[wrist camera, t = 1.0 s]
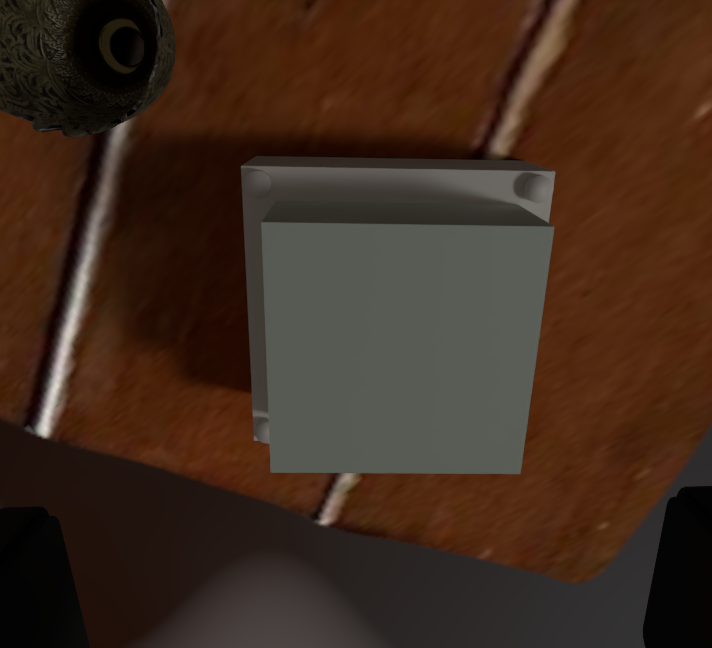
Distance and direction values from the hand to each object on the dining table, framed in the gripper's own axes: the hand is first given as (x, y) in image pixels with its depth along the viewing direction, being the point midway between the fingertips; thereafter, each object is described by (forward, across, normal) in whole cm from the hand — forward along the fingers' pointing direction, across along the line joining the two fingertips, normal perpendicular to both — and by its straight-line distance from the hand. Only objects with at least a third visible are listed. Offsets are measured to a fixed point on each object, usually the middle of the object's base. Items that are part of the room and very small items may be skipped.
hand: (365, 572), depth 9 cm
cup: (+25, +11, -10) cm, 29 cm away
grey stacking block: (+25, -2, +3) cm, 25 cm away
